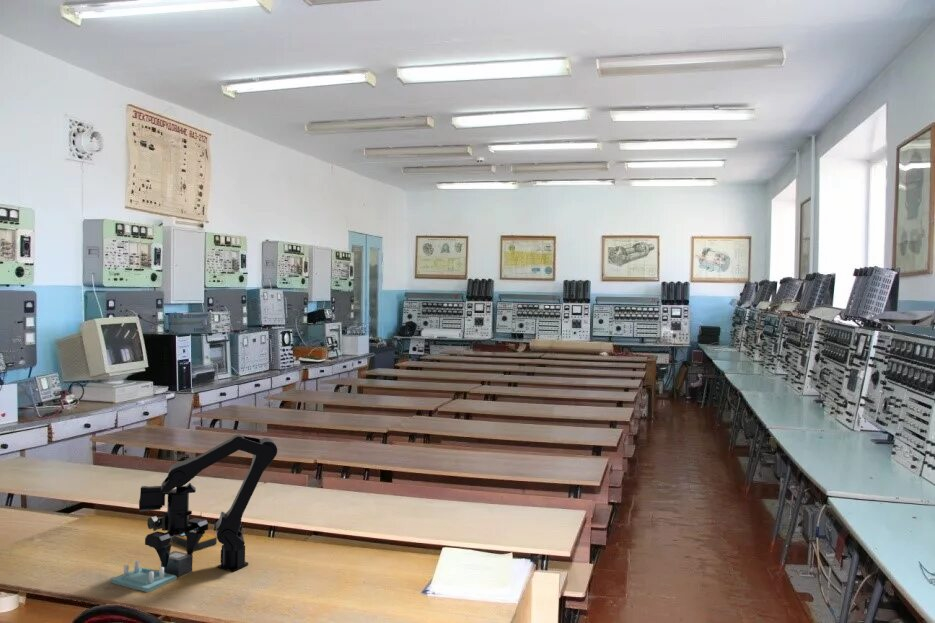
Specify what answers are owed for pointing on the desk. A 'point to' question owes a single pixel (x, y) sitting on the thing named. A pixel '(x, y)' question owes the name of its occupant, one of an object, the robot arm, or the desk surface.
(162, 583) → the teal fixture plate
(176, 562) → the block
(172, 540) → the electronic device
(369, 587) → the desk surface
